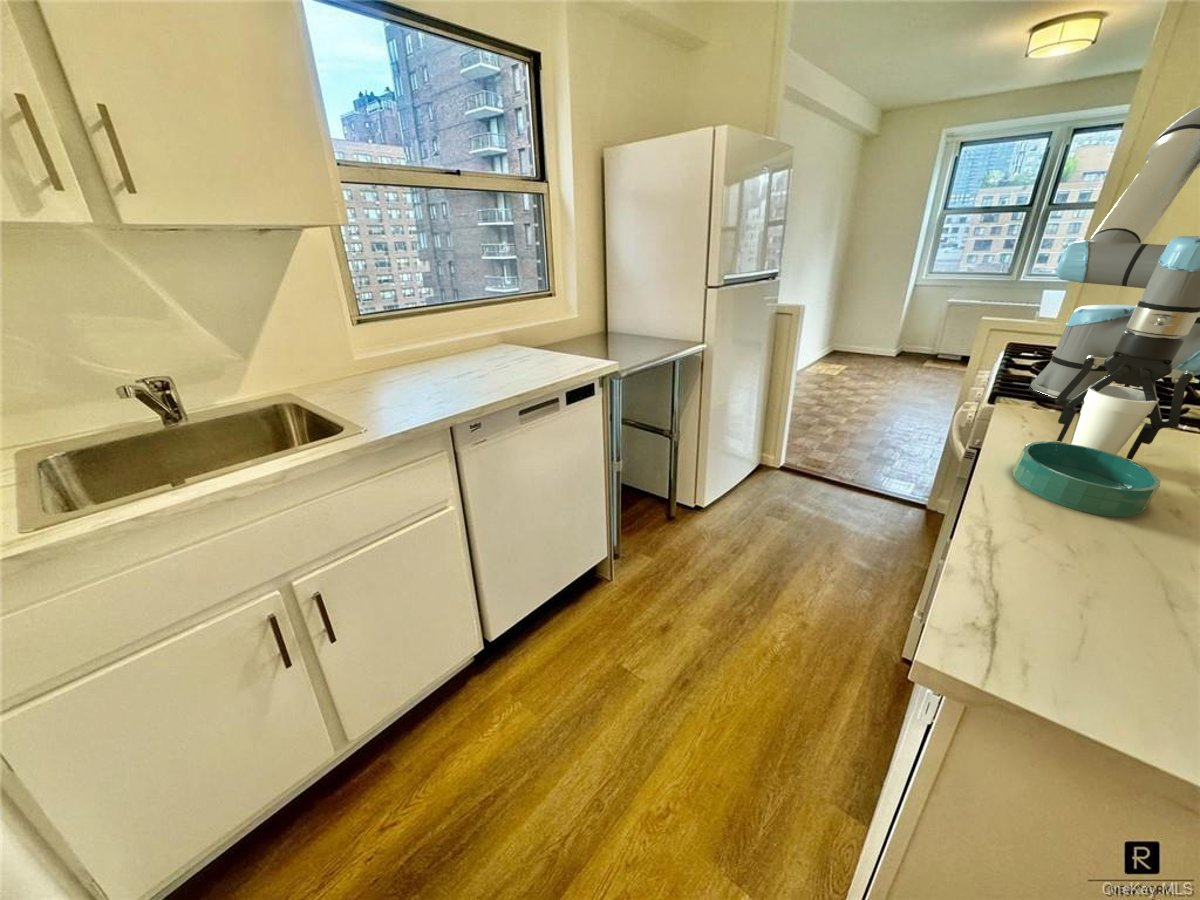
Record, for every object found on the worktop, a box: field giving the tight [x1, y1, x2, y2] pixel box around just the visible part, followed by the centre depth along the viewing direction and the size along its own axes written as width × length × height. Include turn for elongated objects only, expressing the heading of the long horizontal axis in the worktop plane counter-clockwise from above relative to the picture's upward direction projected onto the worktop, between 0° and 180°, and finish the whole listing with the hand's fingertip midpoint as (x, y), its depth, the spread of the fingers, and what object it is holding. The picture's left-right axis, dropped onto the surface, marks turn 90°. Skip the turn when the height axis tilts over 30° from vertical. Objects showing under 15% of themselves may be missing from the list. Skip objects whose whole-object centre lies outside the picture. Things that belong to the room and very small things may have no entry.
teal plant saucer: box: [1012, 440, 1162, 518], centre depth 84 cm, size 17×17×5 cm
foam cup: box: [1069, 384, 1160, 456], centre depth 92 cm, size 10×9×13 cm
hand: (1093, 447), depth 94 cm, fingers closed on foam cup, 9 cm apart
